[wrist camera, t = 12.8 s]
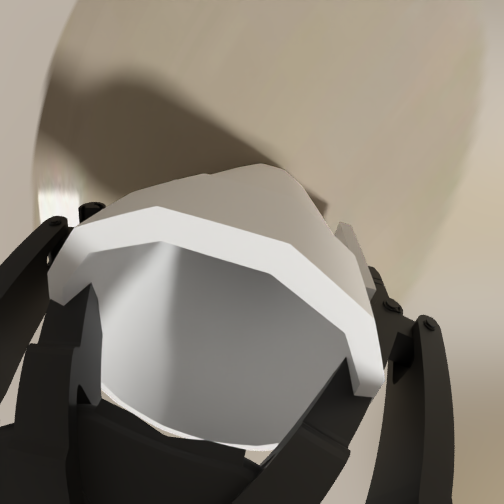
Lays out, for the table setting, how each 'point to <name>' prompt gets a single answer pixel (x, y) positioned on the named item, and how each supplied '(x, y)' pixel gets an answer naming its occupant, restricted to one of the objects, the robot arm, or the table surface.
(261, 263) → the foam cup
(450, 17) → the table surface
